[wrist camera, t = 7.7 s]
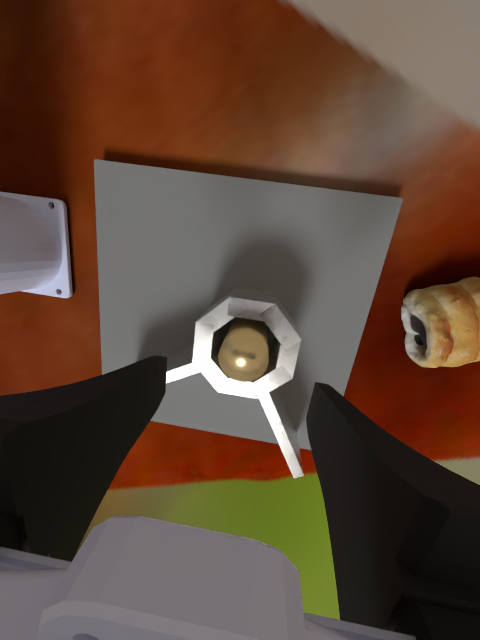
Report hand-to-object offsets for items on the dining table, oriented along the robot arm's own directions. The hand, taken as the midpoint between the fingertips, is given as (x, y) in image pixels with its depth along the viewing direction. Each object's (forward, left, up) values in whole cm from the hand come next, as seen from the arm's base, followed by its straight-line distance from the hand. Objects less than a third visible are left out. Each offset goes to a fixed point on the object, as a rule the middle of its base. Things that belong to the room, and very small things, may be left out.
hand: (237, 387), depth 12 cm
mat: (-2, 0, -10) cm, 10 cm away
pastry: (+16, +3, -10) cm, 19 cm away
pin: (0, 0, -9) cm, 9 cm away
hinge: (-2, -3, -9) cm, 10 cm away
